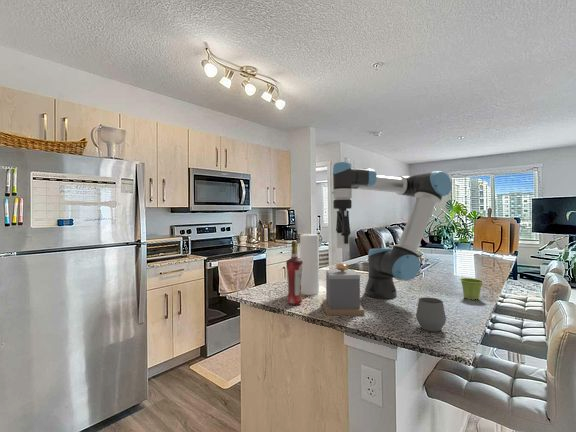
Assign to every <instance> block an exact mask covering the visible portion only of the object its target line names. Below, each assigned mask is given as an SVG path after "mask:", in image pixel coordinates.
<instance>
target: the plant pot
mask: <svg viewBox="0 0 576 432" xmlns="http://www.w3.org/2000/svg"><path fill="white" fill-rule="evenodd" d="M459 281H461V286H462V291H463V292H462V294H463V298H465V299H466V298H467V299H466V300H470V299H472V300H471V301H478V300H480V294H481V288H482V285H483V284H484V280H481V279H478V278H472V277H471V278H470V277H462V278H460V279H459ZM475 299H476V300H475ZM477 299H478V300H477Z"/></svg>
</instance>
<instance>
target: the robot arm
mask: <svg viewBox="0 0 576 432" xmlns="http://www.w3.org/2000/svg"><path fill="white" fill-rule="evenodd" d="M332 177H333V180H332V182H333V183H332V184H333V189H332V190H333V191H332V192H331V195H333V199H334V200H332V201H333V209H334V210H335V209H336V210H337V211H336V227H335V228H336V229H335V232H336V249H342V250H341V252H342V253H349V252H350V235H351V234H352V233H351V226H350V217H349V216H350V215H349V213H350V212H349V210H350V209H352V206H353V205H352V200H351V199H352V192H353V191H352V190H353V189H355V190H366V191H376V192H384V193H385V192H386V193H387V192H388V193H395V194H397V195H398V196H406V197H412V198H415V202H414V203H413V206H412V209H411V212H410V214H409V216H408V219H407V222H406V224H405V226H404V229H403V231H402V234H401V236H400V238H399V240H398V243H397V244H394V245H393V246H392V247H385V248H384V247H383V248H370V249H369V250H368V254H367V259H368V262H367V265H368V269H367V270H368V271H367V273H368V274H367V275H368V277H367V282H366V284H365V288H364V294H365V295H366V296H367V297H370V298H376V299H394V298H396V297H397V296H398V293H397V288H396V286H395V282H394V279H396V280H399V281H411V280H413V279H415V277H417V276H418V274H419V272H420V270H421V261H420V259H419V253H418V249H419V246H420V244H421V241H422V239H423V236H424V235H425V232H426V229H427V226H428V224H429V221H430V218H431V217H432V214H433V211H434V208H435V206H437V205H438V204H440V203H441V201H442V198H443V197H445V196H449V194H450V193H451V192H452V188H453V187H452V184H453V183H452V181H451V178H450V176H449V175H448V174H447V173H446V172H445V171H442V170H438V171H437V170H436V171H435V170H434V171H431V172H424V173H418V174H417V173H416V174H412V175H405V176H404V175H399V176H386V175H378V174H377V172H376V170H375V169H373V168H368V167H367V168H363V167H362V168H360V167H352V163H351V162H349V161H337V162H335V163H334V164H333V167H332ZM348 209H349V210H348Z"/></svg>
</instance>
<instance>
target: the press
mask: <svg viewBox="0 0 576 432" xmlns="http://www.w3.org/2000/svg"><path fill="white" fill-rule="evenodd" d="M325 272H326V273H325V274H326V275H325V276H326V279H325V280H326V281H325V283H326V284H325V285H326V291H325V293H326V294H325V295H326V296H325V299H323V298H322V307H323V309H324V311H325V315H326V316H365V309H364V307H363V306H362V305H361V301H360V300H361V295H360V294H361V291H360V290H361V275H360V274H359V272H357V271H356V270H355V269H348V270H344V273H340V270H337V269H326V271H325Z"/></svg>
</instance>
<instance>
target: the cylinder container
mask: <svg viewBox="0 0 576 432" xmlns="http://www.w3.org/2000/svg"><path fill="white" fill-rule="evenodd" d="M299 237H300V240H299V241H300V243H299V244H300V246H299V247H300V249H299V250H300V253H299V255H300V258H299V259H300V260H302V261H303V266H302V287H301V295H307V296H315V295H319V293H320V284H319V283H320V282H319V281H320V280H319V279H320V265H319V263H320V260H319V259H320V257H319V256H320V238H319V237H320V236H319V234H315V233H305V234H300V236H299Z"/></svg>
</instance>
